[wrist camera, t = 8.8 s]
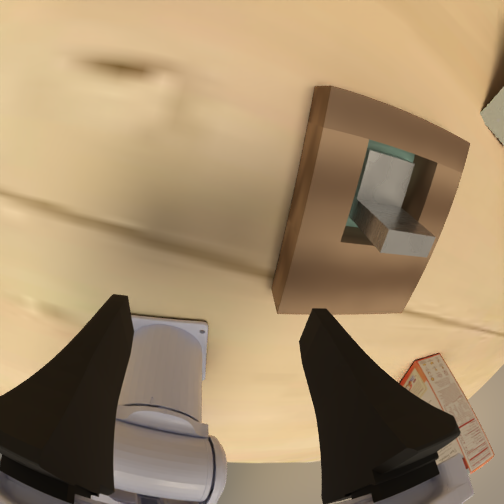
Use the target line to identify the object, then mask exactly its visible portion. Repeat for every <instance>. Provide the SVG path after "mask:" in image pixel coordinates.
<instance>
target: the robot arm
mask: <svg viewBox="0 0 504 504" xmlns="http://www.w3.org/2000/svg"><path fill="white" fill-rule="evenodd" d="M202 330H204V331H202ZM207 337H208V324H207V323H206V322H203V321H189V320H177V319H166V318H155V317H146V316H137V315H131V312H130V307H129V301H128V296H124V295H116V294H113V295H112V296H111V297H110V298H109V299H108V300H107V301H106V302H105V304H104V305H103V306H102V307H101V308H100V309H99V311H98V312H97V313H96V314H95V315H94V316H93V318H92V319H91V320H90V321H89V322H88V323H87V324H86V325H85V326H84V328H83V329H82V330H81V331H80V332H79V333H78V334H77V335H76V336H75V337H74V338H73V339H72V340H71V341H70V342H69V344H68V345H67V346H66V347H65V348H64V349H63V350H62V351H61V352H59V353H58V354H57V355H56V356H55V357H54V358H53V359H52V360H51V361H50V362H49V363H47V364H46V365H45V366H44V367H43V368H41V369H40V370H39V371H38V372H36V373H35V374H34V375H32V376H31V377H30V378H29V379H27V380H26V381H24V382H23V383H21V384H20V385H18V386H17V387H15V388H14V389H12V390H10V391H9V392H7V393H5V394H4V395H2V396H0V453H1V454H2V458H1V459H0V504H217V502H218V499H219V497H220V496H221V494H222V493H223V490H224V488H225V484H226V477H227V461H226V455H225V451H224V449H223V447H222V445H221V444H220V443H219V441H218V439H217V438H216V437H214V436H211V435H208V424H204V423H202V381H203V380H205V372H206V354H207ZM299 344H300V352H301V359H302V365H303V368H304V372H305V376H306V380H307V383H308V387H309V390H310V394H311V398H312V401H313V405H314V409H315V414H316V419H317V426H318V433H319V442H320V452H321V468H322V501H323V504H328V503H332V502H336V501H341V500H344V499H348V498H352V499H351V500H348V501H344V502H341V503H337V504H462V503H464V502H465V501H466V500H468V499H469V498H470V497H472V496H473V495H474V491H473V488H472V485H471V482H470V479H469V476H468V473H467V470H466V468H465V465H464V462H463V459H462V457H461V454H460V453H457V454H456V455H454V456H452V457H450V458H449V459H447V460H445V461H443V462H441V463H439V464H438V465H437V464H436V461H435V460H437V459H438V458H439V455H438V453H437V451H439V450H440V449H442V448H443V447H445V446H446V445H448V444H449V443H451V442H452V441H453V440H455V439H456V438H457V437H458V436H459V435H460V433H461V431H460V429H459V427H458V424H457V422H456V420H455V418H454V416H453V415H451V414H449V413H447V412H444V411H442V410H440V409H438V408H436V407H434V406H432V405H431V404H429V403H427V402H425V401H424V400H422V399H420V398H419V397H417V396H416V395H414V394H413V393H411V392H410V391H409V390H407V389H406V388H404V387H403V386H402V385H400V384H399V383H398V382H397V381H395V380H394V379H393V378H392V377H391V376H389V375H388V374H387V373H386V372H385V371H384V370H382V369H381V368H380V367H379V366H378V365H377V364H376V363H375V362H374V361H373V360H372V359H371V358H370V357H369V356H368V355H367V354H366V353H365V352H364V351H363V350H362V349H361V348H360V346H359V345H358V344H357V343H356V342H355V341H354V340H353V339H352V338H351V336H350V335H349V334H348V333H347V332H346V331H345V329H344V328H343V327H342V326H341V325H340V324H339V322H338V321H337V320H336V319H335V318H334V317H333V315H332V314H331V313H330V312H329V311H328V310H327V309H326V308H312V311H311V313H310V316H309V318H308V321H307V323H306V326H305V328H304V331H303V333H302V336H301V338H300V341H299ZM91 496H92V498H91Z"/></svg>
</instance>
